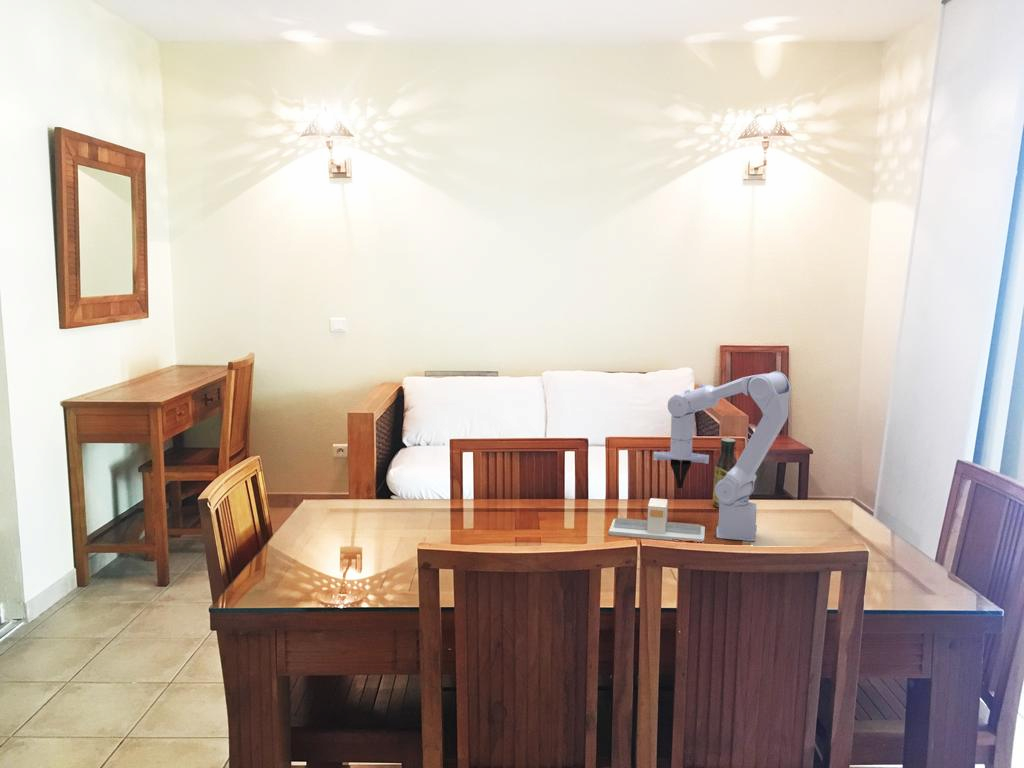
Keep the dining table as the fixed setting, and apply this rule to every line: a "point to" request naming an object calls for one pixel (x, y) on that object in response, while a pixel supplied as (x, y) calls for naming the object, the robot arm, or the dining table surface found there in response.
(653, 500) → the block
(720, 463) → the sauce bottle
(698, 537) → the board
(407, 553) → the dining table surface
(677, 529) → the metal rail
